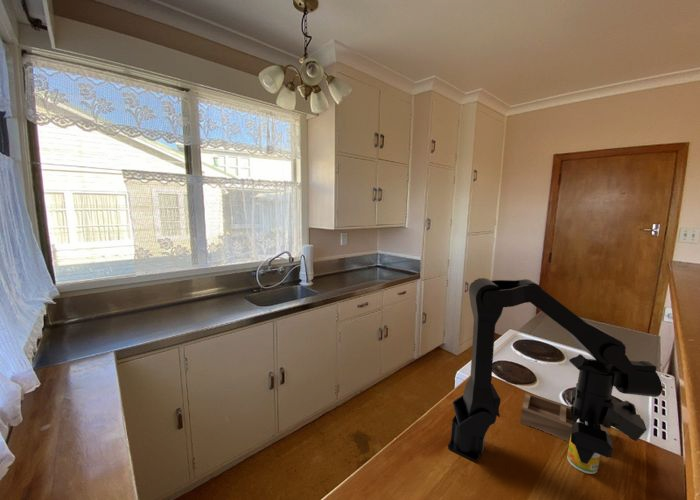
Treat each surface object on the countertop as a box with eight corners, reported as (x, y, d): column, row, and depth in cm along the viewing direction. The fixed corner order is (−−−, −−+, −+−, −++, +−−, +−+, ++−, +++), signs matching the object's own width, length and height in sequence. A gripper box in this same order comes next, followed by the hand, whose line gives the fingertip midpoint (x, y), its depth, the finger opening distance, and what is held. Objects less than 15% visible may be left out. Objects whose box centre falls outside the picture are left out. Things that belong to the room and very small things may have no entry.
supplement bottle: (565, 450, 71) (571, 412, 70) (595, 461, 68) (601, 421, 67) (568, 467, 66) (574, 426, 65) (599, 479, 64) (606, 437, 62)
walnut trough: (607, 456, 70) (609, 440, 69) (520, 422, 80) (521, 409, 79) (603, 432, 77) (606, 418, 77) (524, 404, 87) (526, 391, 87)
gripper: (656, 431, 53) (641, 509, 55) (637, 382, 68) (625, 445, 70) (576, 405, 59) (565, 476, 61) (575, 365, 74) (566, 424, 76)
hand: (583, 454), depth 67 cm, fingers closed on supplement bottle, 5 cm apart
